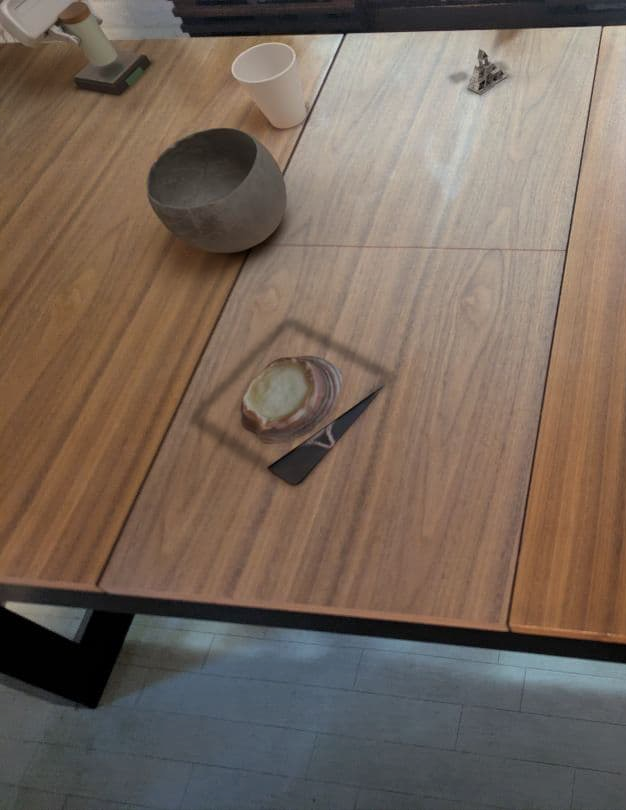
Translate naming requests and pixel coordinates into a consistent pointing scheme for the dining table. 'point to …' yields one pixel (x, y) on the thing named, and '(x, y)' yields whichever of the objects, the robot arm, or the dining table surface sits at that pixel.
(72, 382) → the dining table surface
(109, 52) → the jar
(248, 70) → the cup
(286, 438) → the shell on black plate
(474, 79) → the stone castle ruin model
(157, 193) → the bowl
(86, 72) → the scale
